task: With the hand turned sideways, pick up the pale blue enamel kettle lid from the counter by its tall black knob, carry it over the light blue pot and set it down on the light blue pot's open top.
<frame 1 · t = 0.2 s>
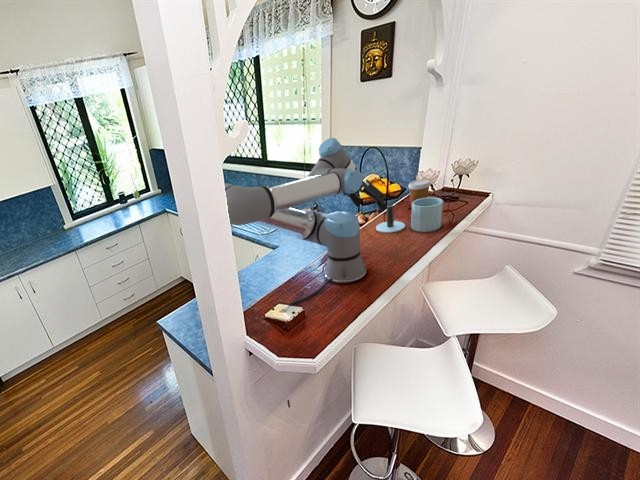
hand: (371, 206, 145), 15 cm above the worktop, tool tilted 35°, fingers open, 13 cm apart
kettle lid: (390, 227, 158), point 1 cm above the worktop
light blue pot: (425, 227, 152), on the worktop
disposable coffee cup: (418, 206, 173), on the worktop
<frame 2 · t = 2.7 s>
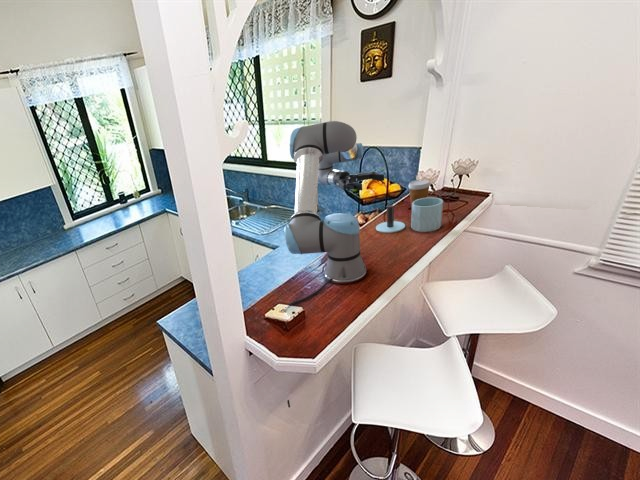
hand: (372, 182, 156), 20 cm above the worktop, tool horizontal, fingers open, 13 cm apart
nothing on the worktop moved.
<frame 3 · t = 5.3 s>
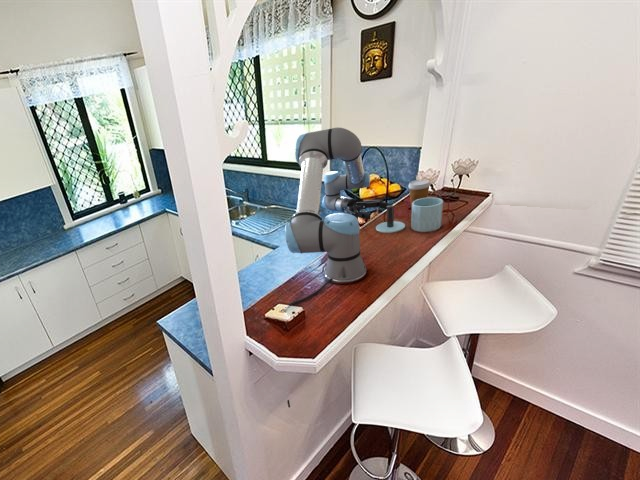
hand: (380, 211, 159), 7 cm above the worktop, tool horizontal, fingers open, 13 cm apart
nothing on the worktop moved.
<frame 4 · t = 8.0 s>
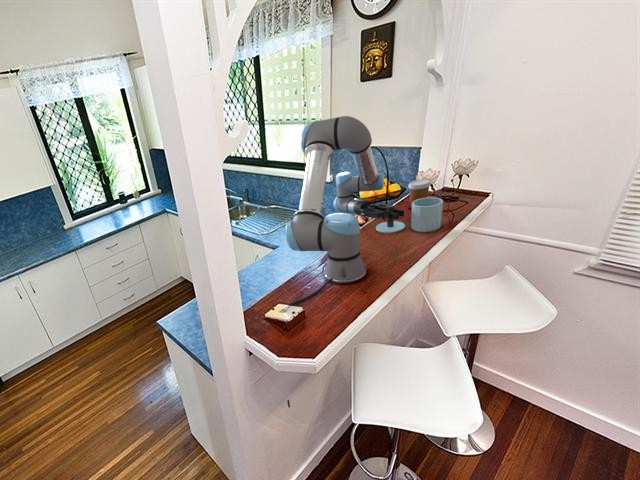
hand: (400, 215, 151), 8 cm above the worktop, tool horizontal, fingers closed on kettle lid, 3 cm apart
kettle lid: (390, 227, 158), point 1 cm above the worktop, touching gripper
everything else where it was.
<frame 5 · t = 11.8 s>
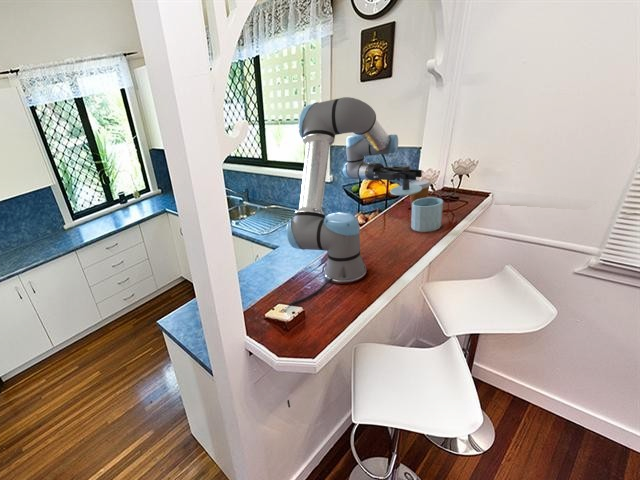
hand: (418, 174, 139), 24 cm above the worktop, tool horizontal, fingers closed on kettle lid, 3 cm apart
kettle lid: (405, 190, 147), point 17 cm above the worktop, touching gripper
everything else where it was.
when the fingers open (18 cm above the worktop, at t = 15.4 s): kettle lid stays where it is, resting on light blue pot.
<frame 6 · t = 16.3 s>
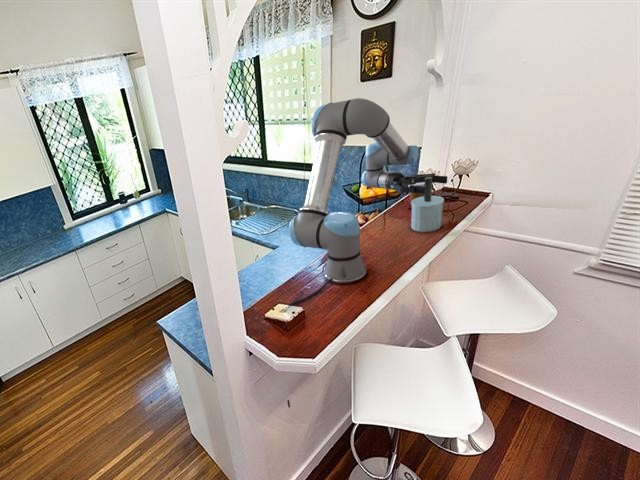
hand: (435, 185, 140), 19 cm above the worktop, tool horizontal, fingers open, 13 cm apart
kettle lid: (427, 201, 146), point 11 cm above the worktop, touching light blue pot
everything else where it was.
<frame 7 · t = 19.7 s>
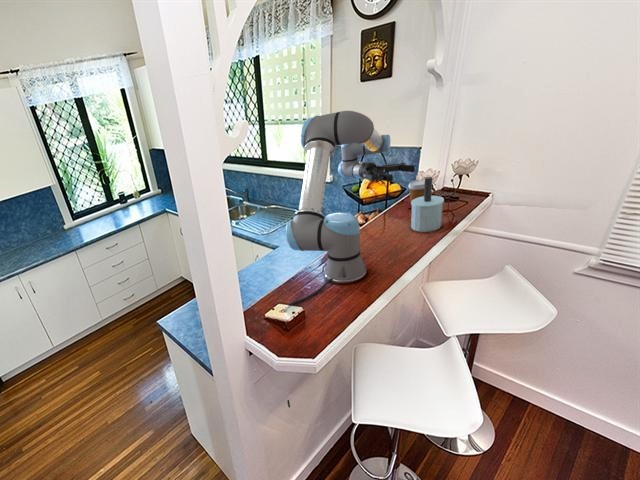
hand: (403, 173, 149), 23 cm above the worktop, tool horizontal, fingers open, 13 cm apart
nothing on the worktop moved.
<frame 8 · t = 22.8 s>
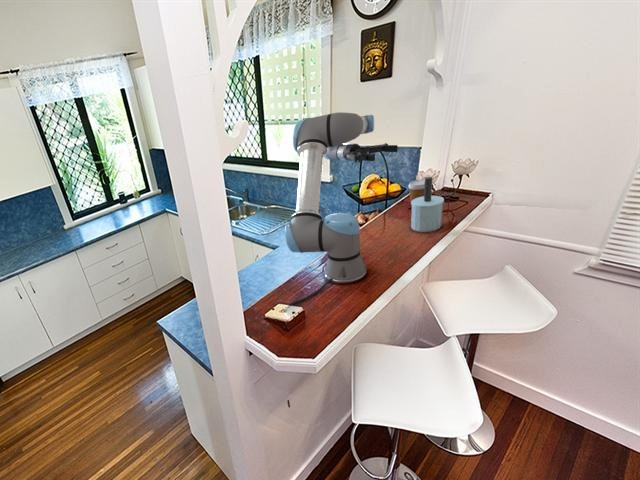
hand: (385, 153, 148), 32 cm above the worktop, tool horizontal, fingers open, 13 cm apart
nothing on the worktop moved.
at the end: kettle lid 0.0 cm off-centre on the light blue pot, point 11.5 cm above the light blue pot's base; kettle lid tilted 0°; the gripper is holding nothing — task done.
